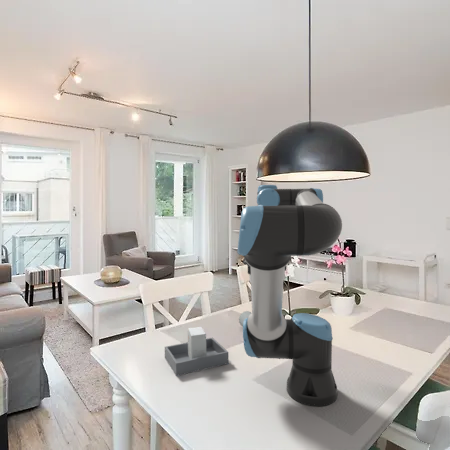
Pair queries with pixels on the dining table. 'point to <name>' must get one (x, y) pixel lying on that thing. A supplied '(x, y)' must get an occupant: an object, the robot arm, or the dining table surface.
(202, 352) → the small box
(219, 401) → the dining table surface
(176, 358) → the bin
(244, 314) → the ceramic mug
